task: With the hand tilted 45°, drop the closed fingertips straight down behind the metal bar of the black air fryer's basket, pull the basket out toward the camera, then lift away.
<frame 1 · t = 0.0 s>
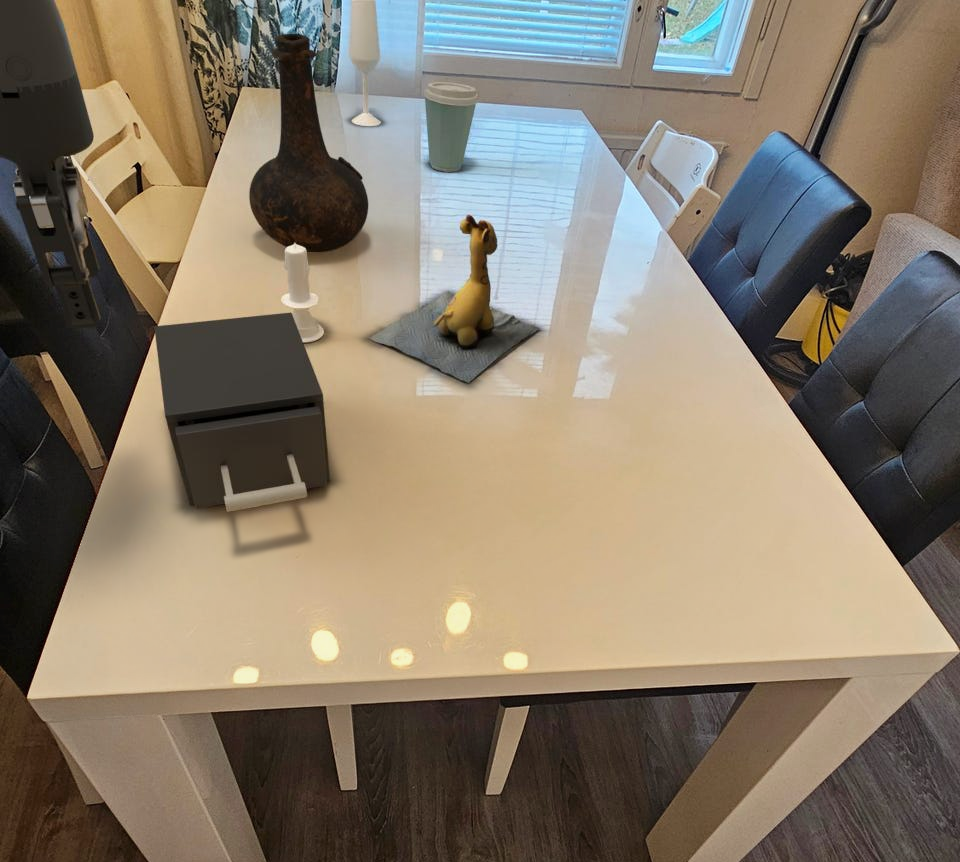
hand: (86, 299, 57), 20 cm above the table, tool pointing down, fingers open, 8 cm apart
basket: (250, 433, 69), point 5 cm above the table, slide at 0.5 cm
air fryer: (250, 445, 76), on the table
stuffed giraffe: (457, 336, 97), on the table
candle: (303, 334, 94), on the table
champagne flute: (366, 122, 162), on the table
glass bottle: (312, 242, 114), on the table
disposable coffee cup: (447, 168, 145), on the table
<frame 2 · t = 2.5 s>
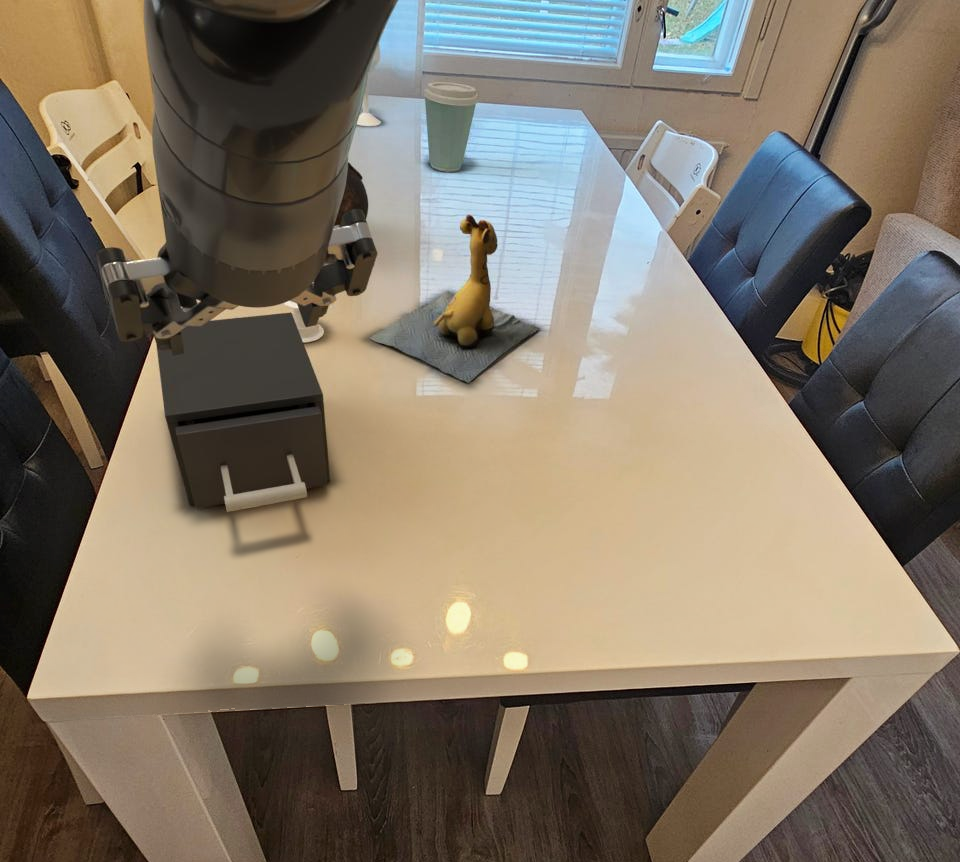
hand: (241, 326, 46), 25 cm above the table, tool tilted 40°, fingers open, 8 cm apart
nothing on the table moved.
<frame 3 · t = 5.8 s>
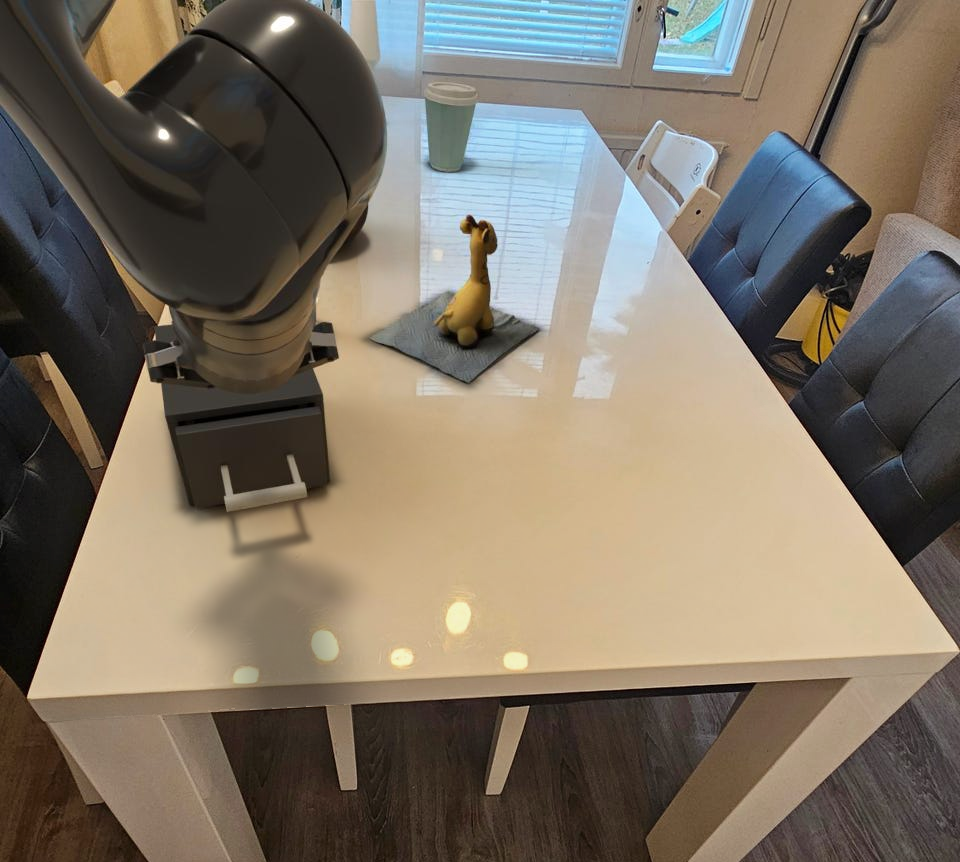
hand: (245, 379, 56), 17 cm above the table, tool tilted 45°, fingers closed
nothing on the table moved.
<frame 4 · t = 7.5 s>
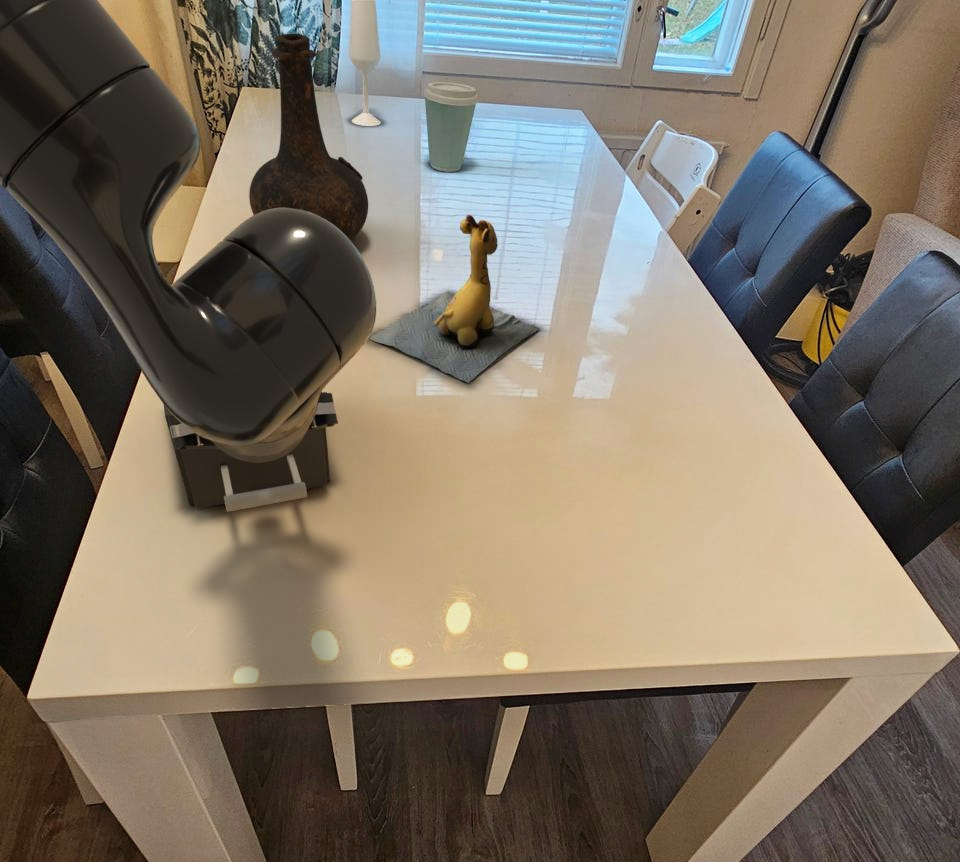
hand: (254, 436, 63), 9 cm above the table, tool tilted 45°, fingers closed
nothing on the table moved.
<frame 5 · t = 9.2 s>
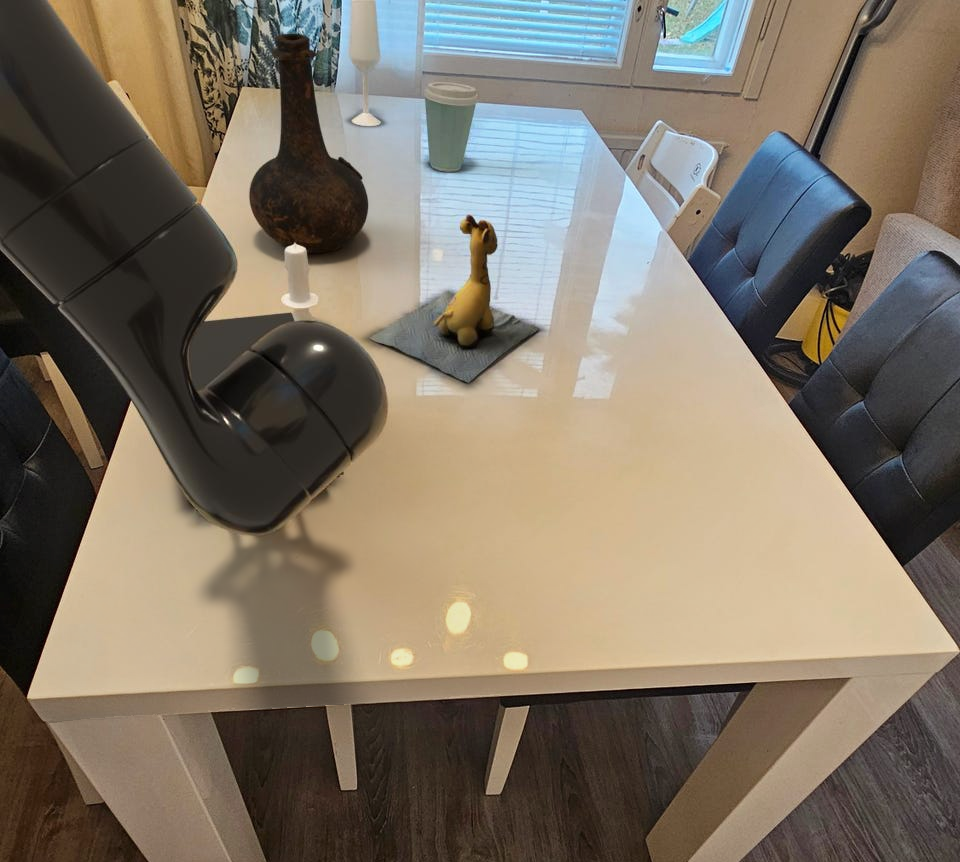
hand: (262, 481, 65), 5 cm above the table, tool tilted 45°, fingers closed
basket: (251, 436, 69), point 5 cm above the table, slide at 0.9 cm, touching gripper
everything else where it was.
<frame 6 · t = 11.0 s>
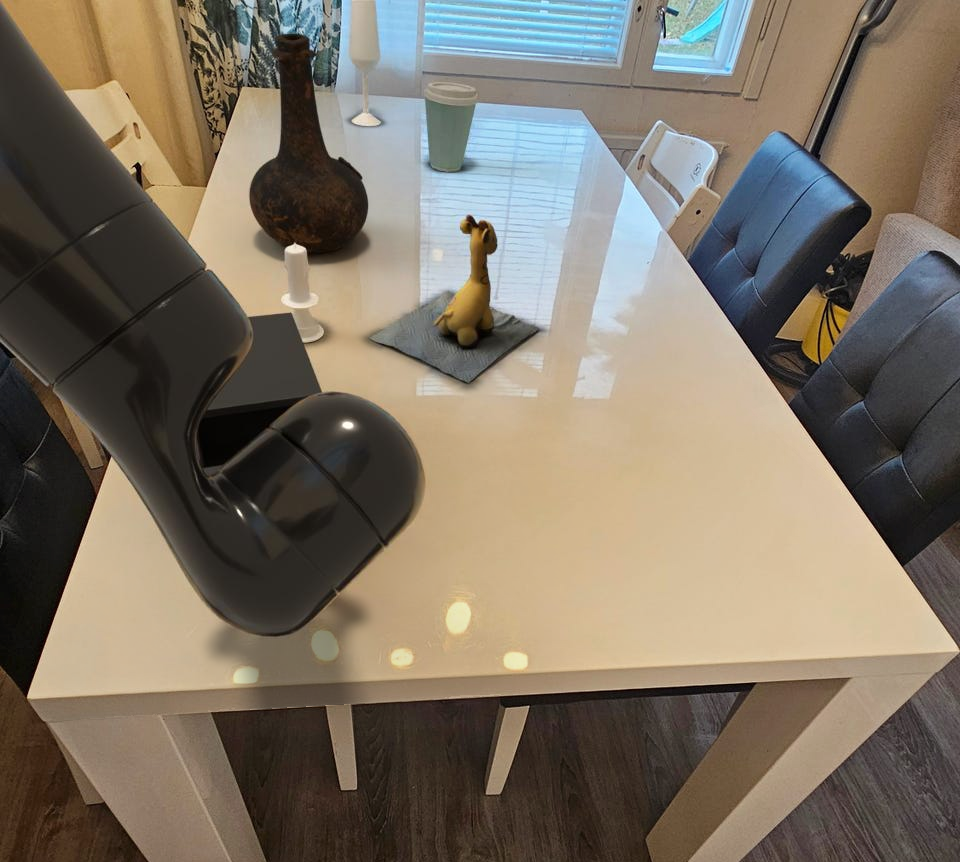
hand: (273, 524, 61), 5 cm above the table, tool tilted 45°, fingers closed
basket: (260, 474, 65), point 5 cm above the table, slide at 6.8 cm, touching gripper
everything else where it was.
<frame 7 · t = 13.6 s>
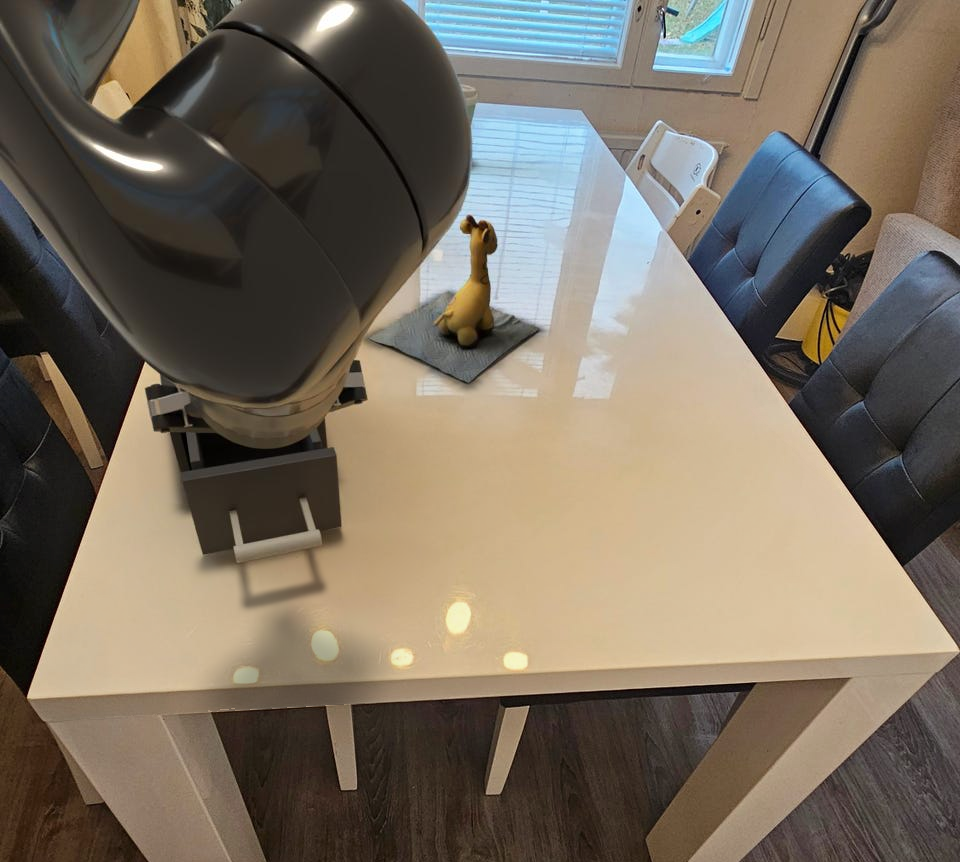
hand: (258, 418, 50), 18 cm above the table, tool tilted 45°, fingers closed
basket: (260, 474, 65), point 5 cm above the table, slide at 6.8 cm
everything else where it was.
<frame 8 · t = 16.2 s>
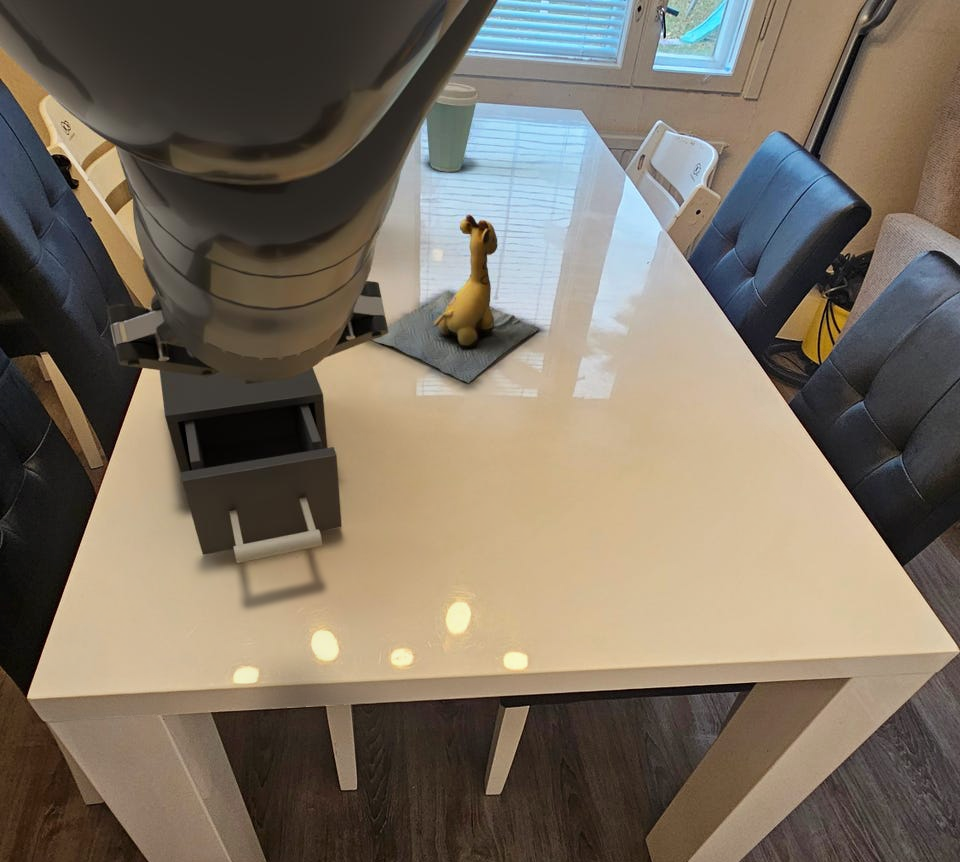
hand: (254, 365, 41), 26 cm above the table, tool tilted 45°, fingers closed
nothing on the table moved.
at the end: basket slide at 6.8 cm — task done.
